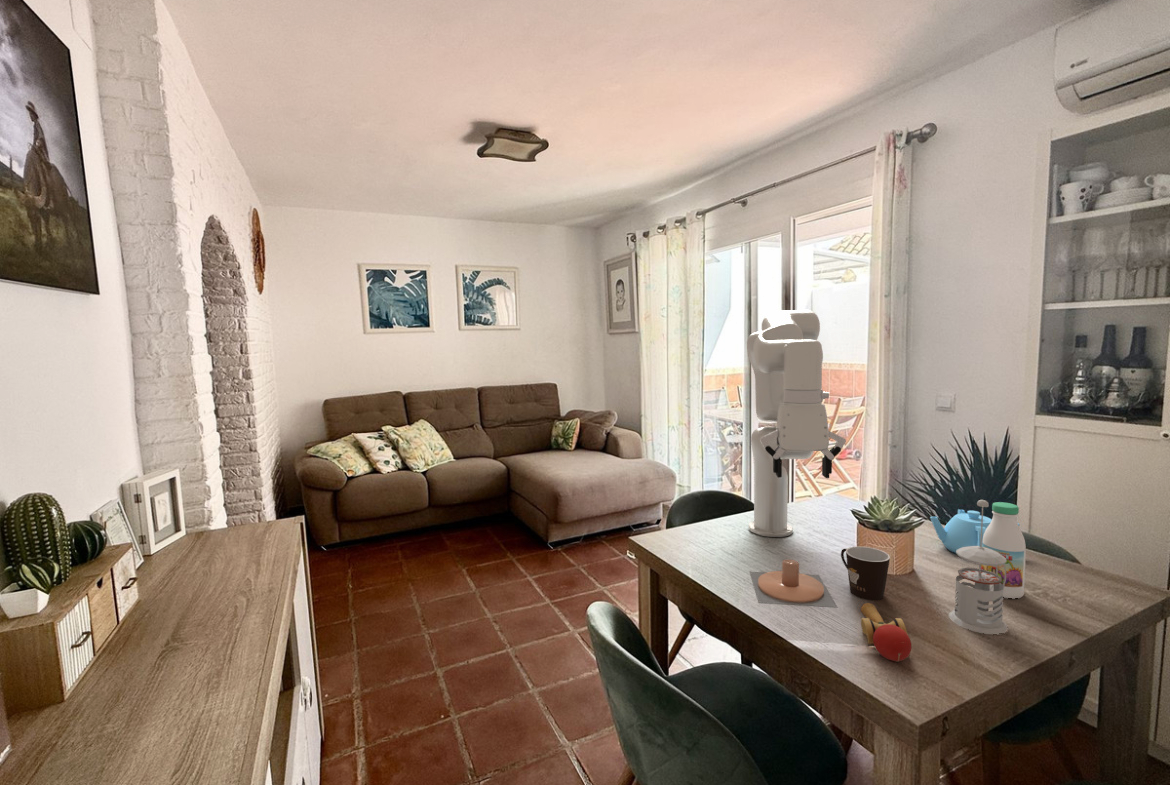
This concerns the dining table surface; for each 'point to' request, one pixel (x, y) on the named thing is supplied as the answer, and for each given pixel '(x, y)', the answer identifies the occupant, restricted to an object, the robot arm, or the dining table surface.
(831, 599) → the mat
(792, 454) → the robot arm
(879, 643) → the kendama
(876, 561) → the coffee mug
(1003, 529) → the milk bottle
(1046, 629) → the dining table surface
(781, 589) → the lid
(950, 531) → the teapot
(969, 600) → the french press
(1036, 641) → the dining table surface
